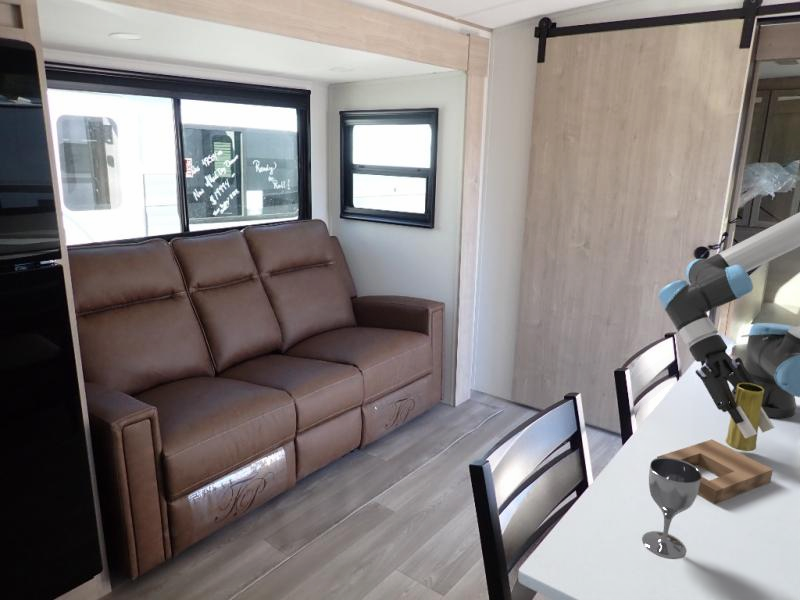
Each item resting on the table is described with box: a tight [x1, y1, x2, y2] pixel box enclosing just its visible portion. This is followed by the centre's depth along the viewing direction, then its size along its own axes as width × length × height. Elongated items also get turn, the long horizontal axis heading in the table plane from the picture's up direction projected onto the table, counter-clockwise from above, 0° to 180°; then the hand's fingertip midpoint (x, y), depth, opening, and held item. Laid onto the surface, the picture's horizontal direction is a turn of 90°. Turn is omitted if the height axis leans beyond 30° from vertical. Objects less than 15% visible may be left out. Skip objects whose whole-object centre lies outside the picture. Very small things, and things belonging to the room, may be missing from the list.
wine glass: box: [641, 457, 703, 560], centre depth 99 cm, size 8×8×15 cm
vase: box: [725, 383, 764, 452], centre depth 129 cm, size 6×6×14 cm
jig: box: [656, 439, 774, 505], centre depth 123 cm, size 18×14×3 cm
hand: (759, 432), depth 127 cm, fingers closed on vase, 5 cm apart
